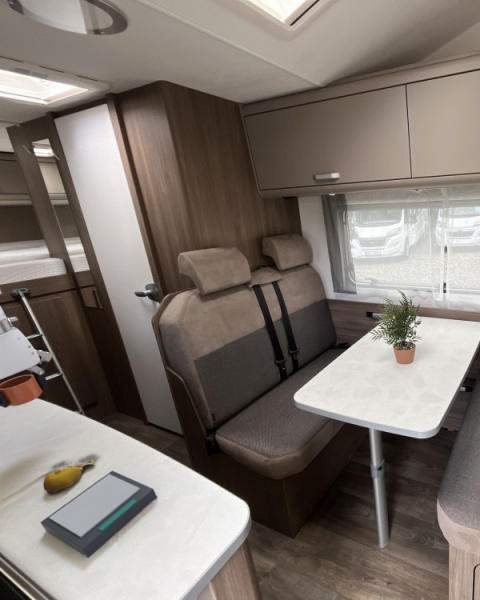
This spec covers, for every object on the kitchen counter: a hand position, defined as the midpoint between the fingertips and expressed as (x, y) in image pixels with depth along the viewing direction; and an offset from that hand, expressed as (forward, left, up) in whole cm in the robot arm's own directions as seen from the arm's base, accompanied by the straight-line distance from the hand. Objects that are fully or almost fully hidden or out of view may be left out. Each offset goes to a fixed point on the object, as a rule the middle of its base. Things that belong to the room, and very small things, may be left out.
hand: (24, 396), depth 76 cm
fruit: (+17, -4, -16) cm, 24 cm away
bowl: (0, 0, -1) cm, 1 cm away
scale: (+35, -7, -16) cm, 39 cm away
